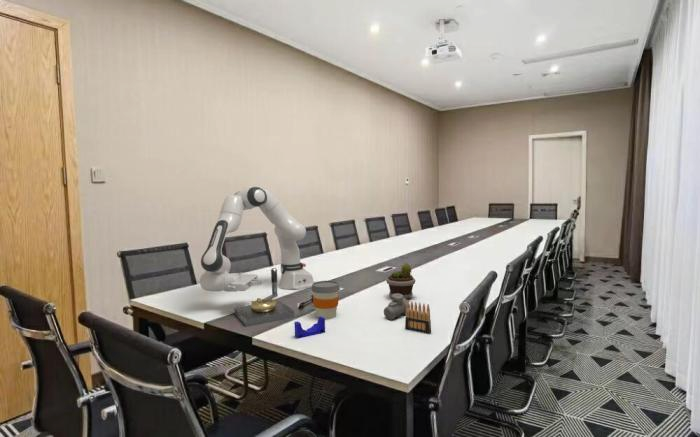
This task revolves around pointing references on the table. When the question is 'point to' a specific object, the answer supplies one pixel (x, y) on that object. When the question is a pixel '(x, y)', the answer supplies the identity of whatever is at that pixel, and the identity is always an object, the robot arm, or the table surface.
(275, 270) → the brass base with rod
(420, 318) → the ammunition clip
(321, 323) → the blue cradle stand
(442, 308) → the table surface
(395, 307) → the pipe fitting
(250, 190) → the robot arm
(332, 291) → the reusable coffee cup
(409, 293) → the flowerpot
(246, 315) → the cap plate
